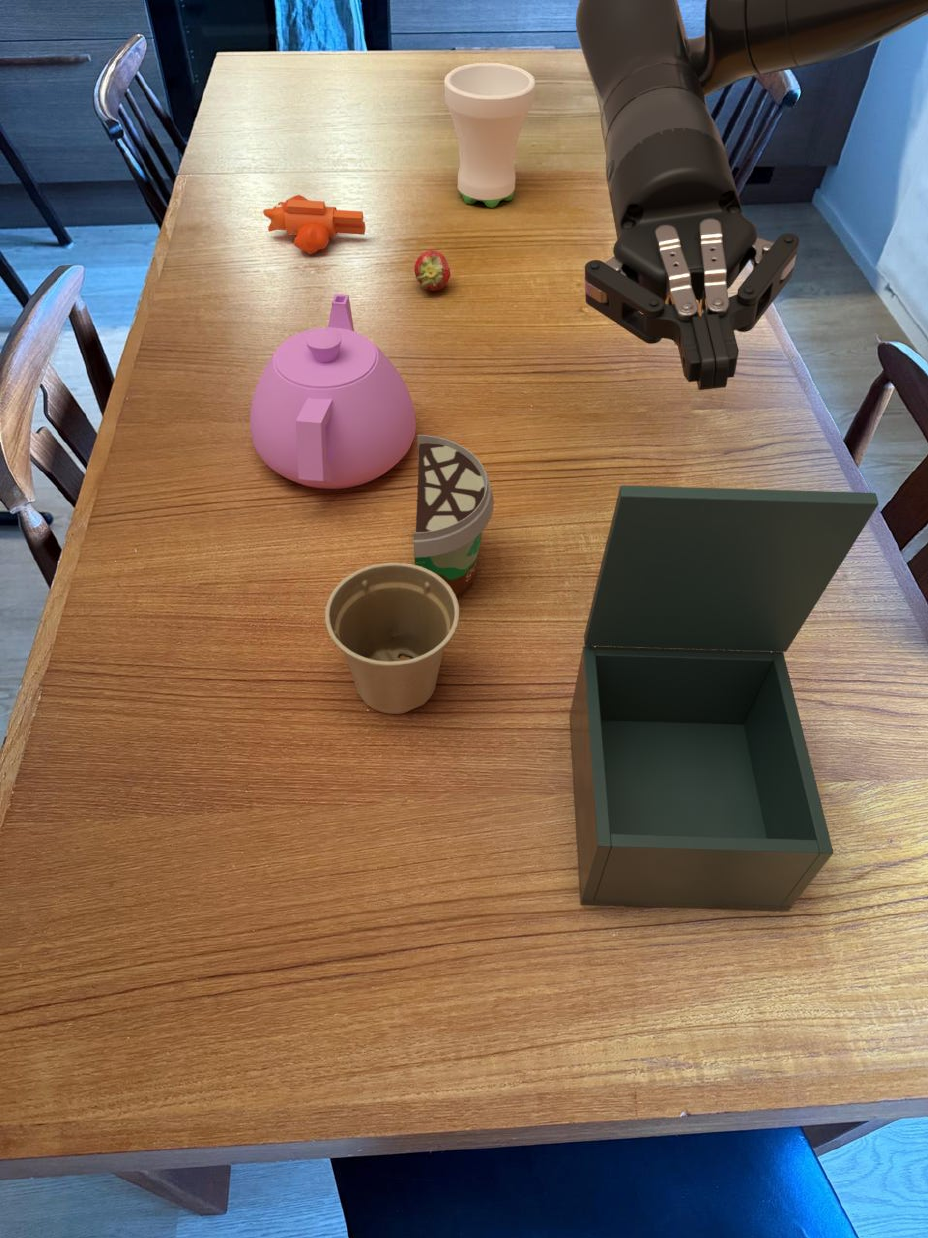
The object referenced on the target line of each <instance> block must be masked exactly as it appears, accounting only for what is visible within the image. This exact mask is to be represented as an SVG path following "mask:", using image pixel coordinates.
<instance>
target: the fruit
mask: <svg viewBox="0 0 928 1238" xmlns="http://www.w3.org/2000/svg"><path fill="white" fill-rule="evenodd" d="M413 270H414V276H415V280H417V281H418V283H419V284H420V287H419V288H420V290H422V291H425V290H427V291H431V292H437V291H440V290H443V289H444V288H445V287H446V285H447V284H448V283H449V280H450V278H451V269H450V267H449V264H448V260H447V258H446V257H445V256H444V255H443V253H441V252H439V251H438V250H433V249H429V250H427V251H425V252H423V253H422V254H421V255H419V256H418V258H417V259H416V261H415V263H414V269H413Z"/></svg>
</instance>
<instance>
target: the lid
mask: <svg viewBox="0 0 928 1238" xmlns="http://www.w3.org/2000/svg"><path fill="white" fill-rule="evenodd" d="M878 506H879V500H878V496H877V494H876V492H863V491H862V492H861V491H857V492H856V491H823V490H822V491H821V490H791V489H757V488H756V489H755V488H754V489H753V488H726V487H725V488H722V487H689V486H653V485H652V486H651V485H620V486H619V489H618V495H617V498H616V501H615V506H614V510H613V515H612V519H611V523H610V527H609V531H608V535H607V539H606V543H605V548H604V552H603V554H602V555H603V556H602V560H601V564H600V568H599V573H598V576H597V581H596V585H595V590H594V593H593V597H592V602H591V606H590V610H589V614H588V618H587V622H586V626H585V631H584V635H583V644H584V645H583V646H605V647H638V648H671V649H704V650H737V651H770V652H783V653H786V652H788V650H789V648H790V647H791V645H792V643H793V642H794V640H795V638H796V637H797V635H798V634H799V632H800V630H801V629H802V627H803V625H804V624H805V623H806V621H807V619H808V618H809V616H810V615H811V613H812V612H813V609H814V608H815V607H816V605H817V603H818V602H819V600H820V599H821V597H822V596H823V594H824V592H825V591H826V590H827V588H828V586H829V584H830V583H831V581H832V579H833V578H834V577H835V576H836V575H835V574H836V573H837V572H838V570H839V568H840V566H841V565H842V564H843V562H844V561H845V558H846V557H847V555H849V552H850V551H851V549H852V547H854V544H855V543H856V541H857V540H858V538H859V536H860V535H861V533H862V531H863V530H864V528H865V527H866V525H867V524H868V522H869V520H870V518H871V517H872V516H873V514H874V513H875V511H876V510H877V508H878Z"/></svg>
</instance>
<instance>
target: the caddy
mask: <svg viewBox="0 0 928 1238" xmlns="http://www.w3.org/2000/svg"><path fill="white" fill-rule="evenodd" d="M784 653H785V652H773V651H740V650H707V649H674V648H641V647H608V646H585V645H583V646H582V650H581V656H580V659H579V666H578V671H577V675H576V677H577V678H576V681H575V687H574V692H573V696H572V702H571V707H570V712H569V733H570V750H571V765H572V767H571V768H572V785H573V801H574V802H573V803H574V818H575V835H576V836H575V838H576V852H577V853H576V855H577V871H578V872H577V875H578V891H579V904H580V905H581V906H609V907H610V906H611V907H612V906H613V907H640V908H641V907H642V908H643V907H644V908H673V909H676V908H677V909H703V910H706V909H708V910H709V909H710V910H738V911H739V910H741V911H768V912H770V911H771V912H790V910H791V909H793V906H794V905H795V904H796V902H797V901H798V900H799V898H800V897H801V896H802V894H803V893H804V892H805V891H806V889H807V888H808V887H809V886H810V884H811V883H812V882H813V881H814V879H815V878H816V876H817V875H818V874H819V872H821V870H822V869H823V868H824V866H825V865H826V863H828V861H829V860H830V858H831V857H832V856H833V855H834V849H833V845H832V841H831V837H830V833H829V829H828V824H827V821H826V817H825V814H824V809H823V805H822V802H821V798H820V793H819V789H818V786H817V781H816V778H815V774H814V770H813V765H812V762H811V761H812V760H811V757H810V754H809V753H810V752H809V749H808V745H807V742H806V738H805V737H806V736H805V733H804V730H803V726H802V721H801V717H800V713H799V710H798V706H797V701H796V697H795V694H794V690H793V685H792V682H791V678H790V675H789V670H788V665H787V662H786V658H785V654H784Z"/></svg>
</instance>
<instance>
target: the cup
mask: <svg viewBox="0 0 928 1238" xmlns="http://www.w3.org/2000/svg"><path fill="white" fill-rule="evenodd" d="M443 82H444V86H443V87H444V103H445V106H446V107H447V109H448V110H449V113H450V116H451V119H452V122H453V126H454V130H455V134H456V139H457V144H458V153H459V169H458V173H457V190H458V191H459V192H460V195H461V197H462V198H463V201H464V203H465V204H467V205H473V204H475V203H477V202H478V201H479V202H483V204H484V205H485V206H486V207H487V208H489V209H494V208H496V206H497V205H498V204H499V203H500V201H504V202H505V201H506V202H510V201H512V199H514V195H515V189H516V177H517V176H516V171H515V162H516V153H517V146H518V141H519V138H520V135H521V131H522V129H523V125H524V123H525V120H526V118H527V115H528V113H529V111H531V109H532V107H533V104H534V101H535V91H536V79H535V77H534V76H533V75H532V74H531V73H530V72H528V71H527V70H525V69H523V68H521V67H518V66H515V65H510V64H506V63H500V62H498V63H497V62H477V63H469V64H465V65H460V66H458V67H455V68H453V69H452V70H451V71H449V72H448V73H447V74H445V77H444V81H443Z"/></svg>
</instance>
